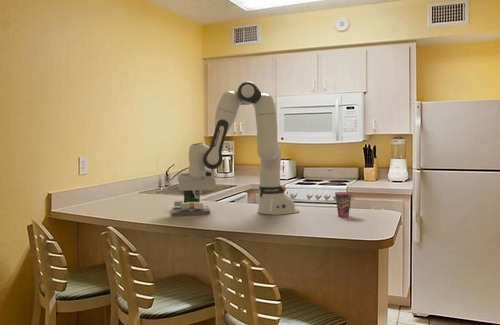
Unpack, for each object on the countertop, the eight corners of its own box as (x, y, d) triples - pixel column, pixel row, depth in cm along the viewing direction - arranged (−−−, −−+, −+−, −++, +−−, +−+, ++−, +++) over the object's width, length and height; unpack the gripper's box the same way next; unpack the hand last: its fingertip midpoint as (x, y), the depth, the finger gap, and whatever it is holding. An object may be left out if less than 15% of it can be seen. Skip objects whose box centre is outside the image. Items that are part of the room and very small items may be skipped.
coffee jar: (192, 209, 254) (191, 177, 252) (181, 208, 258) (180, 177, 257) (202, 207, 262) (201, 176, 261) (192, 206, 266) (191, 175, 265)
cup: (339, 218, 218) (339, 194, 218) (332, 215, 226) (331, 192, 226) (356, 217, 221) (356, 193, 220) (348, 214, 229) (348, 191, 228)
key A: (202, 206, 242) (202, 201, 242) (202, 207, 238) (202, 203, 238) (194, 206, 242) (193, 202, 242) (194, 208, 237) (194, 203, 237)
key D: (182, 204, 249) (182, 200, 249) (182, 206, 245) (182, 201, 245) (174, 205, 249) (174, 200, 249) (174, 206, 244) (174, 202, 244)
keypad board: (207, 209, 254) (207, 205, 254) (210, 214, 237) (210, 210, 237) (172, 210, 251) (172, 206, 251) (172, 216, 233) (172, 212, 233)
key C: (195, 206, 251) (194, 201, 251) (195, 207, 246) (195, 202, 246) (187, 206, 250) (186, 202, 250) (187, 207, 246) (187, 203, 245)
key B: (189, 207, 241) (189, 202, 241) (189, 208, 237) (189, 203, 237) (181, 207, 240) (180, 202, 240) (181, 208, 236) (181, 204, 236)
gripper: (177, 173, 234) (178, 199, 235) (216, 173, 237) (216, 198, 238) (177, 172, 240) (177, 198, 241) (215, 172, 244) (215, 197, 244)
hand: (197, 198), depth 240 cm, fingers closed
